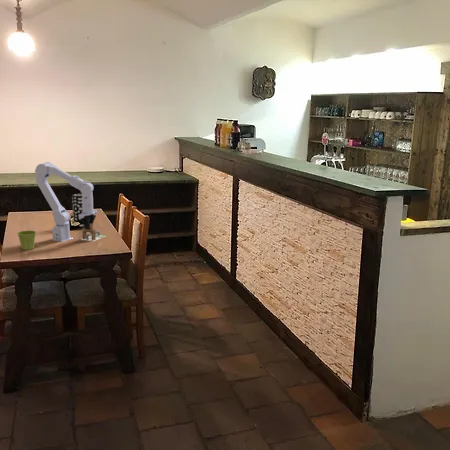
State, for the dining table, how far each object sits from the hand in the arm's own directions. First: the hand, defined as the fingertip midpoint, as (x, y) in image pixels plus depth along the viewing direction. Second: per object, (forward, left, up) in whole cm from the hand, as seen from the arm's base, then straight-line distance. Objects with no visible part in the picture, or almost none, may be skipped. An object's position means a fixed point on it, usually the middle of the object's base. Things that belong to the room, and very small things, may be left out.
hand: (88, 228), depth 289 cm
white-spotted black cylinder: (+26, +24, -7) cm, 36 cm away
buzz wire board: (+4, 0, -7) cm, 8 cm away
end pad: (+8, 0, -7) cm, 10 cm away
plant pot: (-27, +19, -7) cm, 34 cm away
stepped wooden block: (0, 0, -6) cm, 6 cm away
